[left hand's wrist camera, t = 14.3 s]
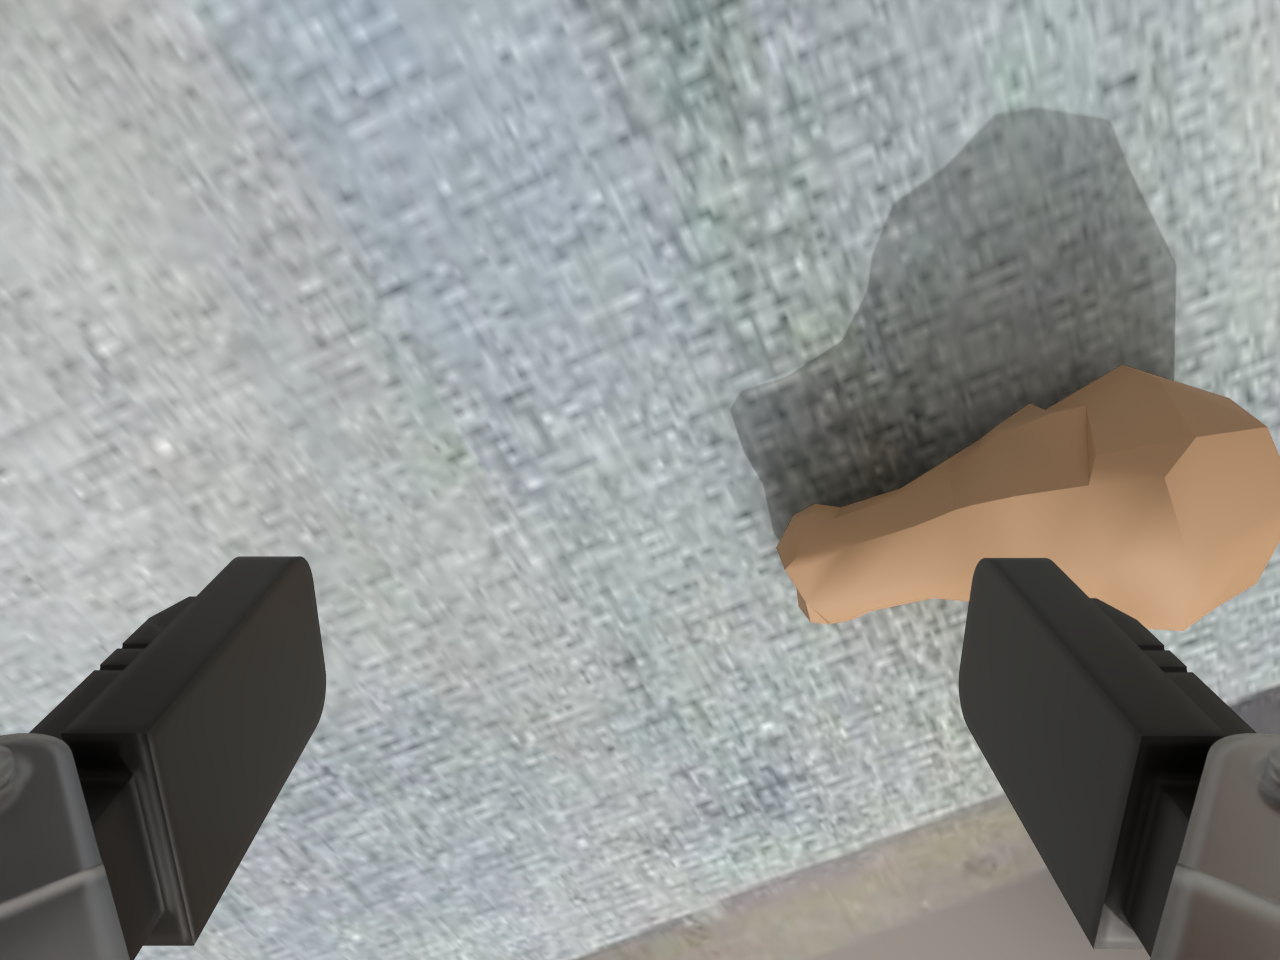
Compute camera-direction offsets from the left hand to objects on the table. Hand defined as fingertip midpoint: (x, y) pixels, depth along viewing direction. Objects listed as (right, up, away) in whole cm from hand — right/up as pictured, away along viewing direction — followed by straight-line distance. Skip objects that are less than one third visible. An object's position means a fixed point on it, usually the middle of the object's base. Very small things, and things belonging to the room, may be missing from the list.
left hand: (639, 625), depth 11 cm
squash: (+16, +1, +31) cm, 35 cm away
